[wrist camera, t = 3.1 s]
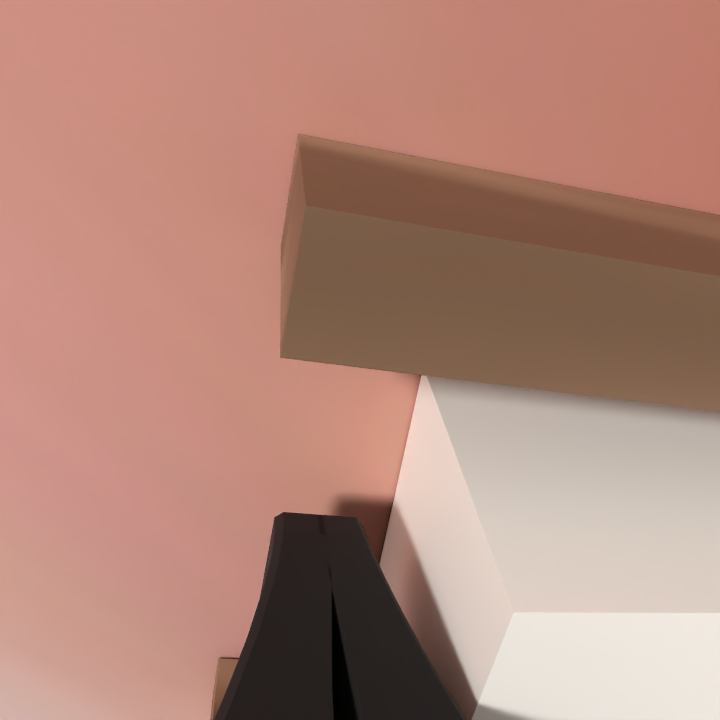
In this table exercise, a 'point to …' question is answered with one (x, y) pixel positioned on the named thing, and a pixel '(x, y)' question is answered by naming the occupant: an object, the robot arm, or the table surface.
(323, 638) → the robot arm
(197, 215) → the table surface
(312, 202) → the trap lane
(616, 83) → the table surface
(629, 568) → the block
